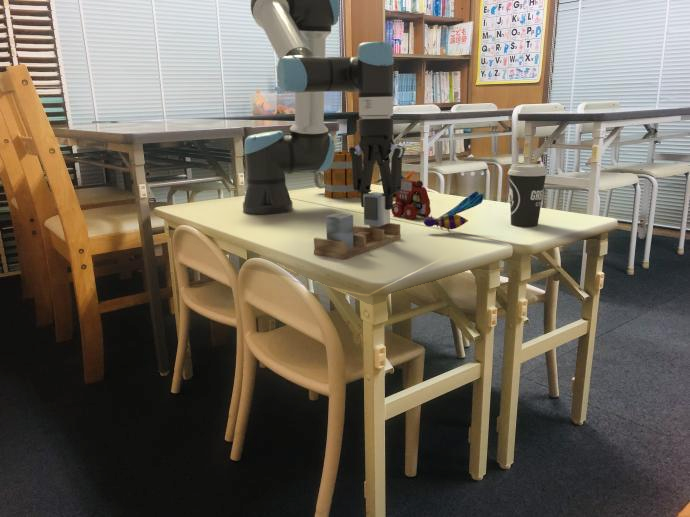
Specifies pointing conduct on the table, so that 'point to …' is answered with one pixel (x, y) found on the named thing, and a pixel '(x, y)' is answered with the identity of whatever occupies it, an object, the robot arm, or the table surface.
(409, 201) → the toy fire truck
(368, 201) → the blue gray block
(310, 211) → the table surface
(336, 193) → the mug
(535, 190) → the coffee cup
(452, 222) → the toy
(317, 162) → the robot arm
